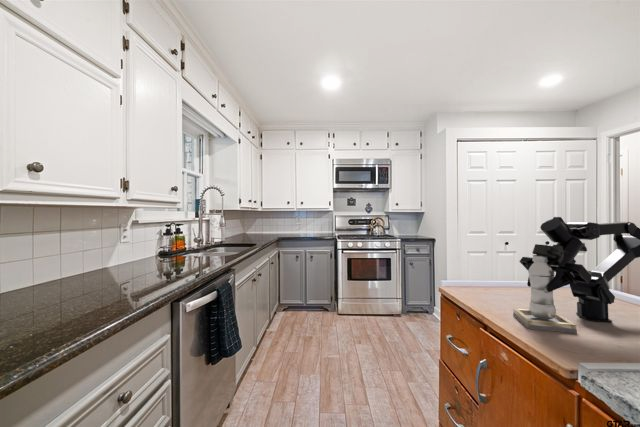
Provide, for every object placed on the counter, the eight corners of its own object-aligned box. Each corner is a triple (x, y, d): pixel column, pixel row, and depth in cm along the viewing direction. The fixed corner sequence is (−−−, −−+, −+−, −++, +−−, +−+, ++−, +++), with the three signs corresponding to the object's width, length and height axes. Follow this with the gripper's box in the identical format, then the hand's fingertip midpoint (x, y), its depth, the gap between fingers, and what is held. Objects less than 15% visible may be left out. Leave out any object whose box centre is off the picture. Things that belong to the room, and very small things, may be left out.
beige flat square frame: (555, 318, 89) (555, 311, 89) (576, 333, 78) (576, 325, 78) (513, 315, 93) (513, 308, 93) (527, 328, 82) (527, 320, 82)
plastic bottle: (526, 313, 90) (524, 254, 90) (552, 316, 87) (549, 254, 88) (532, 320, 84) (529, 256, 85) (560, 323, 81) (557, 257, 82)
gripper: (522, 234, 96) (497, 266, 94) (582, 237, 78) (552, 277, 75) (541, 255, 97) (517, 287, 95) (604, 262, 79) (576, 303, 77)
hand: (537, 288), depth 86 cm, fingers closed on plastic bottle, 6 cm apart
